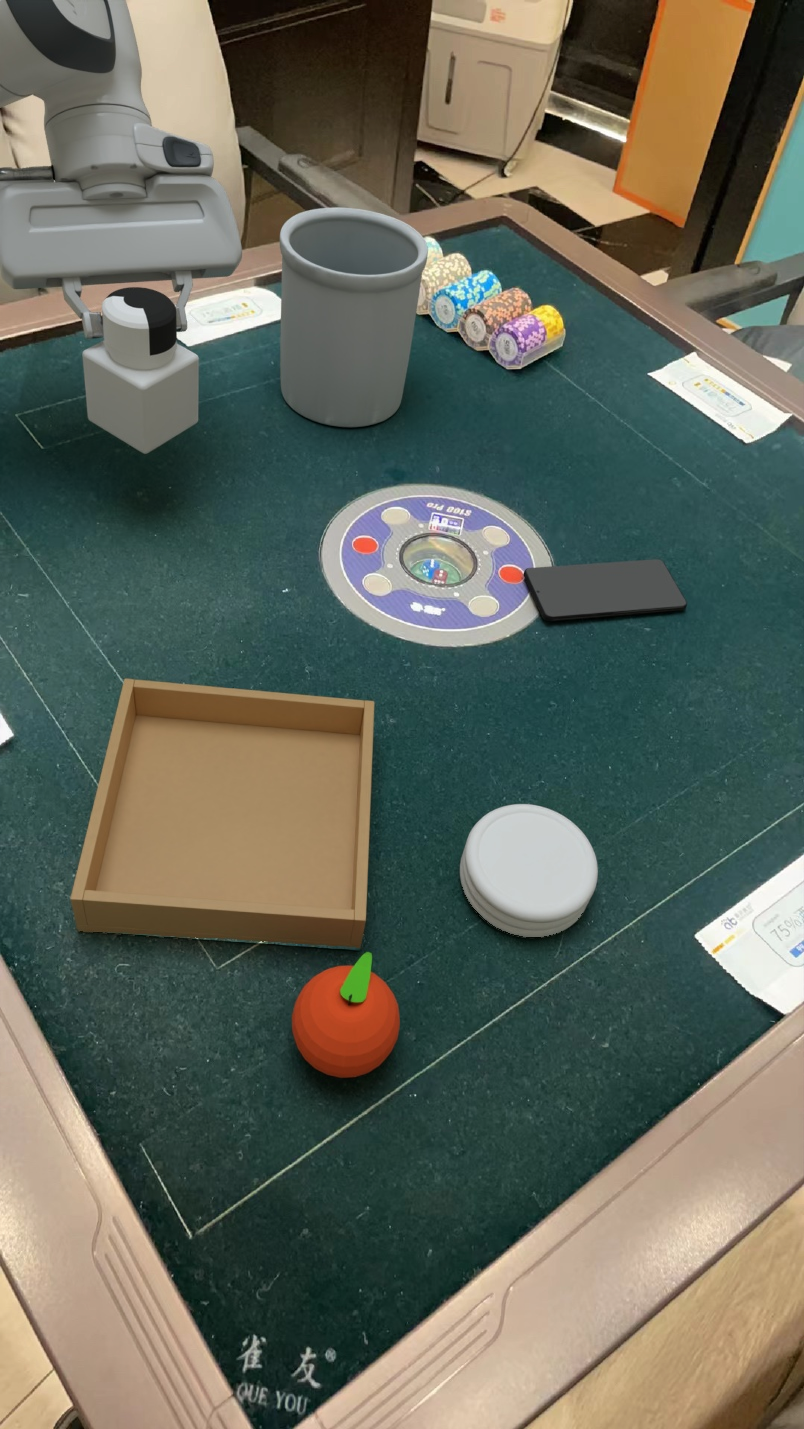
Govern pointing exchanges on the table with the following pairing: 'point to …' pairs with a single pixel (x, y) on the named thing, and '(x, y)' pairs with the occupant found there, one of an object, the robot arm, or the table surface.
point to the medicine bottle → (141, 371)
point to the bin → (230, 817)
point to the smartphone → (604, 589)
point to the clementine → (346, 1020)
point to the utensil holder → (347, 313)
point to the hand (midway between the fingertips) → (137, 333)
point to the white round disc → (528, 870)
